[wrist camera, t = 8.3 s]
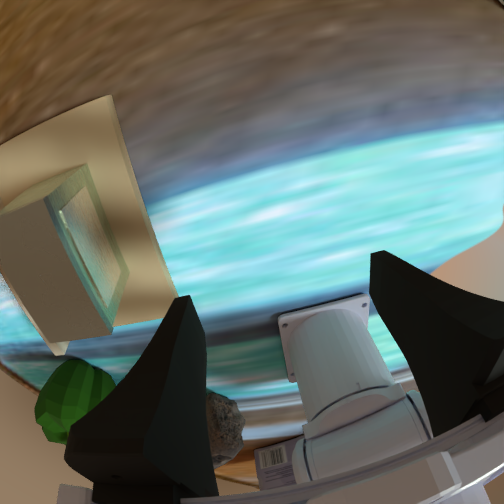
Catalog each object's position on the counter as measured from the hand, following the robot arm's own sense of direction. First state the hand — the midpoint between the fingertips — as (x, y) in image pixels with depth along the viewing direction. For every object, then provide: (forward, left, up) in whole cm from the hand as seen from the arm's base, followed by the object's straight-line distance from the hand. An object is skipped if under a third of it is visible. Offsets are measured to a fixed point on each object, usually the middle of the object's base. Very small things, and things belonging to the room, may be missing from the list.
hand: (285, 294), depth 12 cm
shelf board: (+1, +13, -10) cm, 16 cm away
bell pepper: (-14, +20, -10) cm, 26 cm away
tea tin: (+1, +12, -9) cm, 15 cm away
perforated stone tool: (-24, +10, -10) cm, 28 cm away
